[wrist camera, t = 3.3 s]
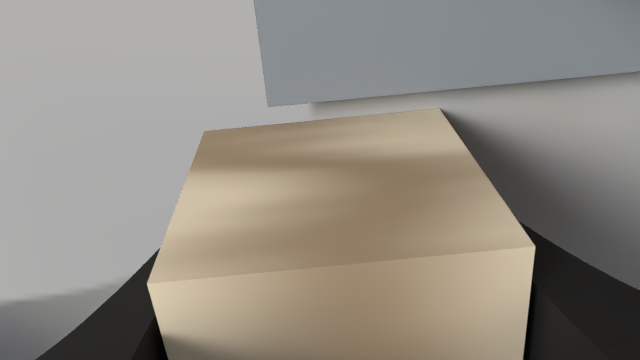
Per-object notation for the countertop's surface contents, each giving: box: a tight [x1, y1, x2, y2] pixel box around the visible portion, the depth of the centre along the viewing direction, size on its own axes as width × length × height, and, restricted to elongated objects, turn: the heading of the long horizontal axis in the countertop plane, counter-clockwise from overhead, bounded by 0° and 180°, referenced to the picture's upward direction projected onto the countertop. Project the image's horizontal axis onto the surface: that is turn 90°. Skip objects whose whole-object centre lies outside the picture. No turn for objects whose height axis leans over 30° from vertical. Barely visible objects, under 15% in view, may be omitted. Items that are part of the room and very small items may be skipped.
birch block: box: [147, 109, 535, 360], centre depth 10 cm, size 5×5×5 cm
